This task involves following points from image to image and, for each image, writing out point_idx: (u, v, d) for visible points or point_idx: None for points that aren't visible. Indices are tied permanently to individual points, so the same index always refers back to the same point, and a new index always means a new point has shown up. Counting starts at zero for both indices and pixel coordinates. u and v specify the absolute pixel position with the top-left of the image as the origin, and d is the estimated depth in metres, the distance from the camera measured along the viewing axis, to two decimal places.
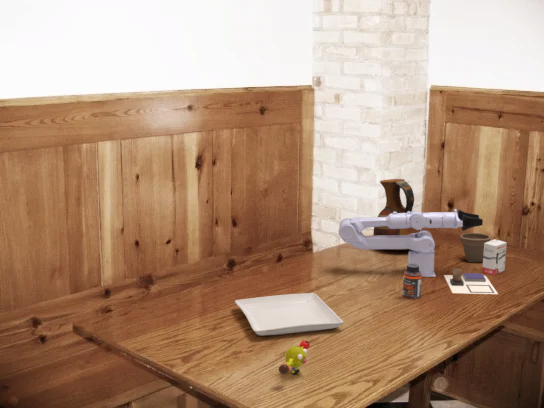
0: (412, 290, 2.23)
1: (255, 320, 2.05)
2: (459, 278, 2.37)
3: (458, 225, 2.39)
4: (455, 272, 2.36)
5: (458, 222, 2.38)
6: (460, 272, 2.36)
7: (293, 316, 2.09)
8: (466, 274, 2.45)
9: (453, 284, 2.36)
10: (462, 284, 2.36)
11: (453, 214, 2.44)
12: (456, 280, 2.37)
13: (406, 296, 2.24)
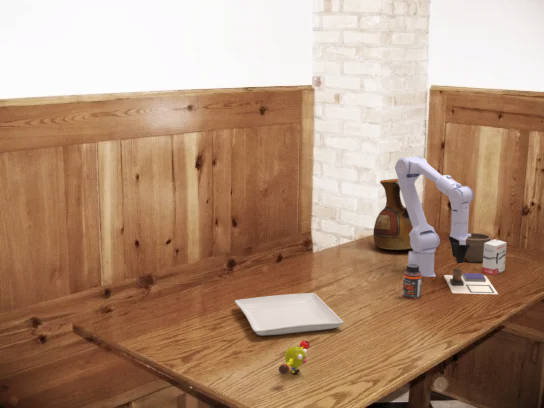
0: (412, 290, 2.23)
1: (255, 320, 2.05)
2: (459, 278, 2.37)
3: (461, 240, 2.28)
4: (455, 272, 2.36)
5: (464, 240, 2.28)
6: (460, 272, 2.36)
7: (293, 316, 2.09)
8: (466, 274, 2.45)
9: (453, 284, 2.36)
10: (462, 284, 2.36)
11: (467, 233, 2.33)
12: (456, 280, 2.37)
13: (406, 296, 2.24)
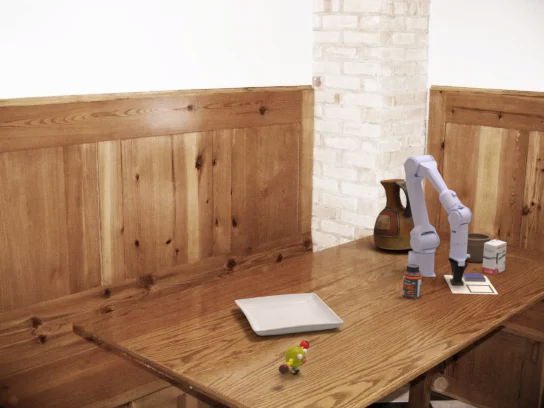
0: (412, 290, 2.23)
1: (255, 320, 2.05)
2: None
3: (460, 262, 2.29)
4: None
5: (463, 261, 2.29)
6: None
7: (293, 316, 2.09)
8: (466, 274, 2.45)
9: (453, 284, 2.36)
10: (462, 284, 2.36)
11: (466, 254, 2.34)
12: None
13: (406, 296, 2.24)
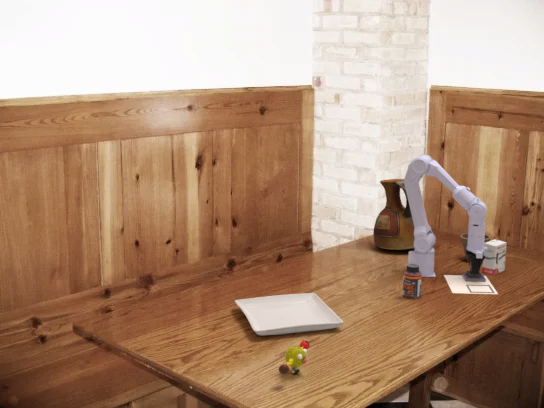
0: (412, 290, 2.23)
1: (255, 320, 2.05)
2: None
3: (478, 254, 2.34)
4: None
5: (481, 253, 2.34)
6: None
7: (293, 316, 2.09)
8: (466, 274, 2.45)
9: (471, 276, 2.41)
10: (480, 275, 2.41)
11: (483, 247, 2.39)
12: None
13: (406, 296, 2.24)
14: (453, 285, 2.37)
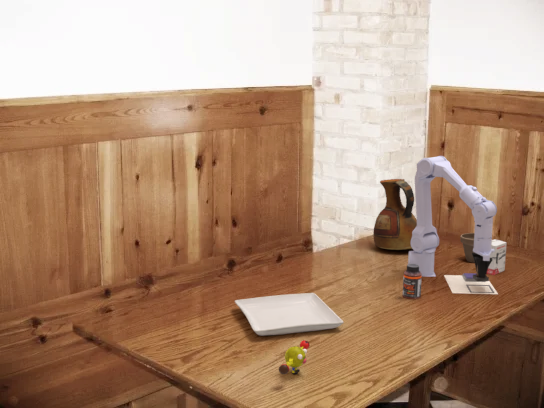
0: (412, 290, 2.23)
1: (255, 320, 2.05)
2: None
3: (485, 256, 2.23)
4: None
5: (488, 256, 2.23)
6: None
7: (293, 316, 2.09)
8: (466, 274, 2.45)
9: (478, 280, 2.30)
10: (487, 279, 2.30)
11: (490, 249, 2.28)
12: None
13: (406, 296, 2.24)
14: (453, 285, 2.37)
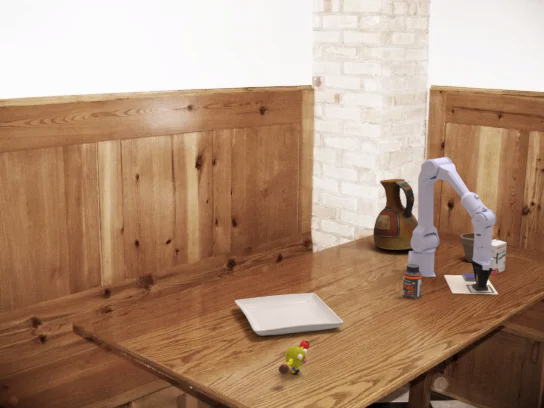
0: (412, 290, 2.23)
1: (255, 320, 2.05)
2: None
3: (484, 265, 2.24)
4: None
5: (488, 265, 2.24)
6: None
7: (293, 316, 2.09)
8: (466, 274, 2.45)
9: (478, 289, 2.31)
10: (486, 289, 2.31)
11: (489, 258, 2.29)
12: None
13: (406, 296, 2.24)
14: (453, 285, 2.37)
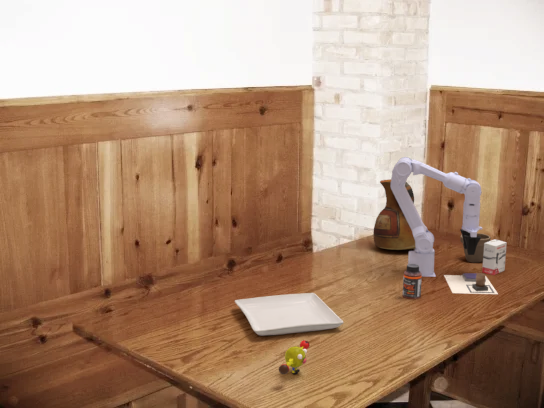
0: (412, 290, 2.23)
1: (255, 320, 2.05)
2: (483, 283, 2.31)
3: (472, 233, 2.36)
4: (479, 277, 2.31)
5: (475, 232, 2.36)
6: (484, 277, 2.31)
7: (293, 316, 2.09)
8: (466, 274, 2.45)
9: (478, 289, 2.31)
10: (486, 289, 2.31)
11: (478, 226, 2.41)
12: (480, 285, 2.31)
13: (406, 296, 2.24)
14: (453, 285, 2.37)
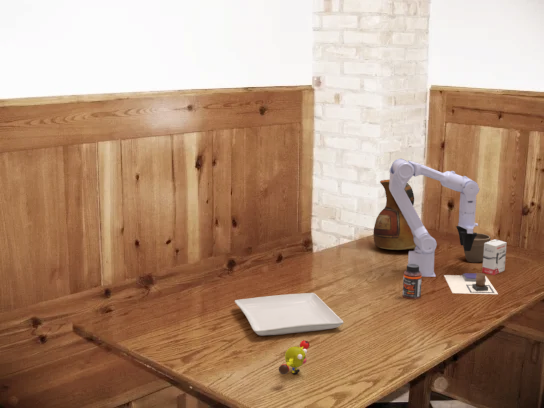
0: (412, 290, 2.23)
1: (255, 320, 2.05)
2: (483, 283, 2.31)
3: (468, 229, 2.41)
4: (479, 277, 2.31)
5: (472, 229, 2.41)
6: (484, 277, 2.31)
7: (293, 316, 2.09)
8: (466, 274, 2.45)
9: (478, 289, 2.31)
10: (486, 289, 2.31)
11: (474, 223, 2.46)
12: (480, 285, 2.31)
13: (406, 296, 2.24)
14: (453, 285, 2.37)
